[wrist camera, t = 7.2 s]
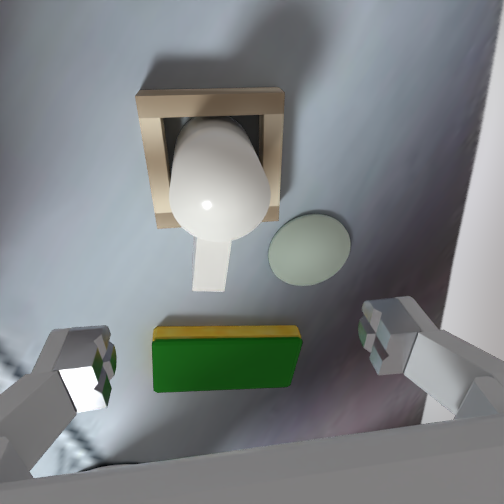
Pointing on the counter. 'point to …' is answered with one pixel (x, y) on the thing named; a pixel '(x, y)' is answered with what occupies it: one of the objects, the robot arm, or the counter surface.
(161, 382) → the dish sponge
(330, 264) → the trivet
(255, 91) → the square wooden frame
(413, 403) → the counter surface
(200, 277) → the jug
